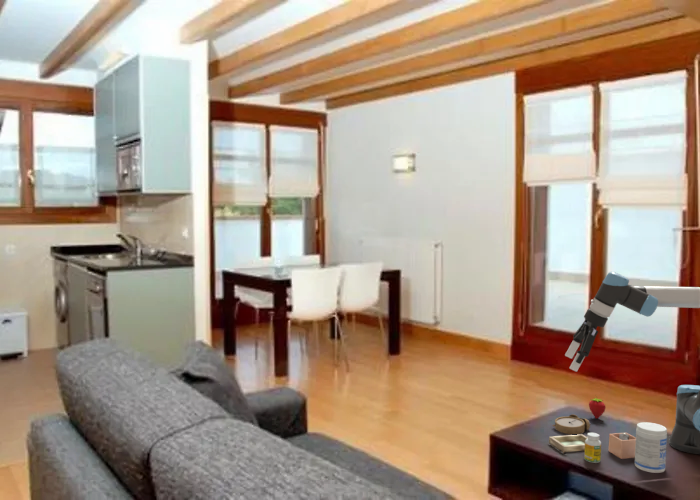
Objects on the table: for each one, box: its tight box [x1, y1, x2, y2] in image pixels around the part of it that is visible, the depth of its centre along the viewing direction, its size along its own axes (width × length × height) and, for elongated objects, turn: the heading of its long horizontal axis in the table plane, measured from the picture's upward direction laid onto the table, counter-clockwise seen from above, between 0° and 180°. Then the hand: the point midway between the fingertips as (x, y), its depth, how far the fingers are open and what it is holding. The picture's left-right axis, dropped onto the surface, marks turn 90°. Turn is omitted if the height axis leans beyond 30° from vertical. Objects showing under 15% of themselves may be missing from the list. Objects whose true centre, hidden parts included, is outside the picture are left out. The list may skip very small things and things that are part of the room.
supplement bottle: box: [583, 432, 602, 464], centre depth 225 cm, size 5×5×10 cm
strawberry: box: [588, 395, 606, 420], centre depth 270 cm, size 6×8×10 cm
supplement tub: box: [634, 421, 668, 474], centre depth 220 cm, size 10×10×15 cm
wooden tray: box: [548, 433, 588, 455], centre depth 238 cm, size 14×10×2 cm
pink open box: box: [608, 432, 636, 460], centre depth 231 cm, size 7×7×7 cm
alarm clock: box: [552, 413, 591, 435], centre depth 257 cm, size 11×5×15 cm
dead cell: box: [619, 432, 629, 440], centre depth 230 cm, size 3×3×8 cm
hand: (570, 363), depth 236 cm, fingers open, 13 cm apart
